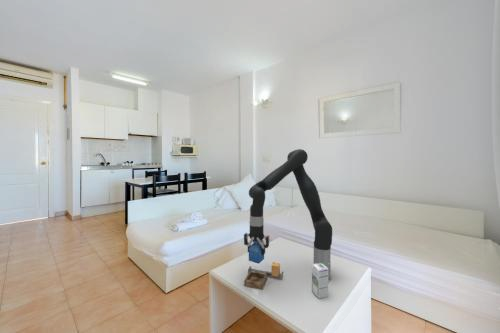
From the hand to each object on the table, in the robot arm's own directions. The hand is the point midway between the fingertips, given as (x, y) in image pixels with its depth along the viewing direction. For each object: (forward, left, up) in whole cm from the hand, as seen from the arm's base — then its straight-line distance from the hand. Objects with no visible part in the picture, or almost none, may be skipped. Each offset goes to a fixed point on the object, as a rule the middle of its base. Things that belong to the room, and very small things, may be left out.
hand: (256, 253), depth 113 cm
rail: (-3, -9, -16) cm, 19 cm away
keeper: (0, 0, -16) cm, 16 cm away
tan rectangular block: (-7, -9, -15) cm, 19 cm away
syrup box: (-33, -1, -16) cm, 37 cm away
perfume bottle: (0, 0, -4) cm, 4 cm away
